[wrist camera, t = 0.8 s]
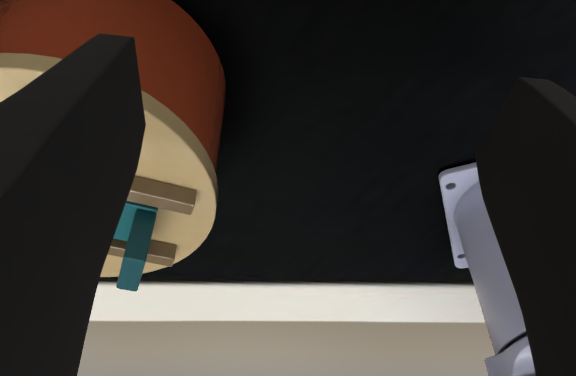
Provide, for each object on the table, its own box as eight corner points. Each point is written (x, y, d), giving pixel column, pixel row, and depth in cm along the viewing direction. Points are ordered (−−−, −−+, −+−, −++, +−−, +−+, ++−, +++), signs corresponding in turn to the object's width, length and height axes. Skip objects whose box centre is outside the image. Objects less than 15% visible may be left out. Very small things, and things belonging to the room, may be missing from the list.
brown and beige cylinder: (262, 17, 19) (254, 147, 14) (200, 184, 26) (180, 309, 21) (-30, -86, 16) (-174, 29, 11) (-10, 132, 23) (-91, 263, 18)
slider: (160, 201, 16) (146, 260, 15) (149, 237, 18) (136, 293, 16) (61, 179, 16) (35, 238, 14) (59, 218, 17) (36, 276, 16)
